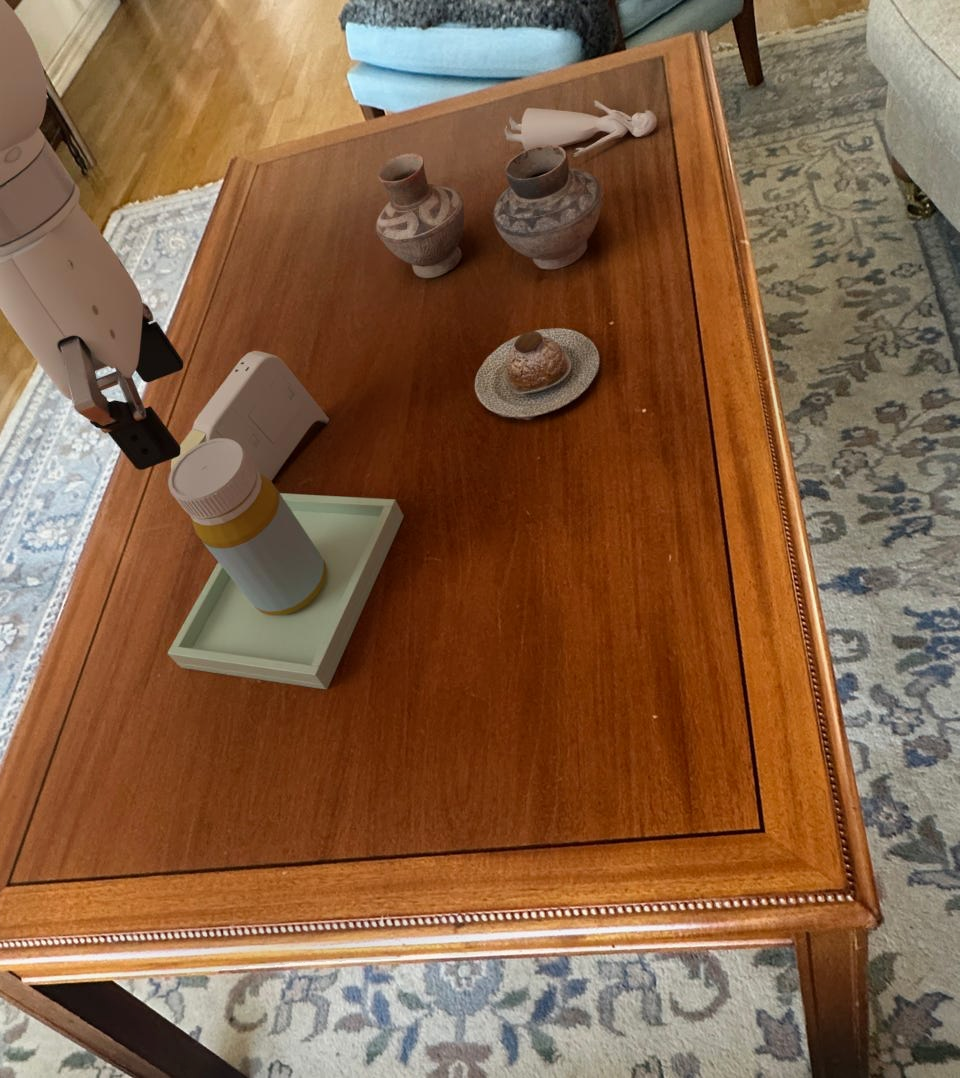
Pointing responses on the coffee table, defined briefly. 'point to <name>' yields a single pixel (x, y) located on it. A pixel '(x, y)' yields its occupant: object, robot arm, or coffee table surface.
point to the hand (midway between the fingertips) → (163, 415)
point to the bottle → (248, 527)
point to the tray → (312, 632)
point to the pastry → (537, 373)
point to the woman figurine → (576, 127)
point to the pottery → (519, 214)
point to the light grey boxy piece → (257, 413)
